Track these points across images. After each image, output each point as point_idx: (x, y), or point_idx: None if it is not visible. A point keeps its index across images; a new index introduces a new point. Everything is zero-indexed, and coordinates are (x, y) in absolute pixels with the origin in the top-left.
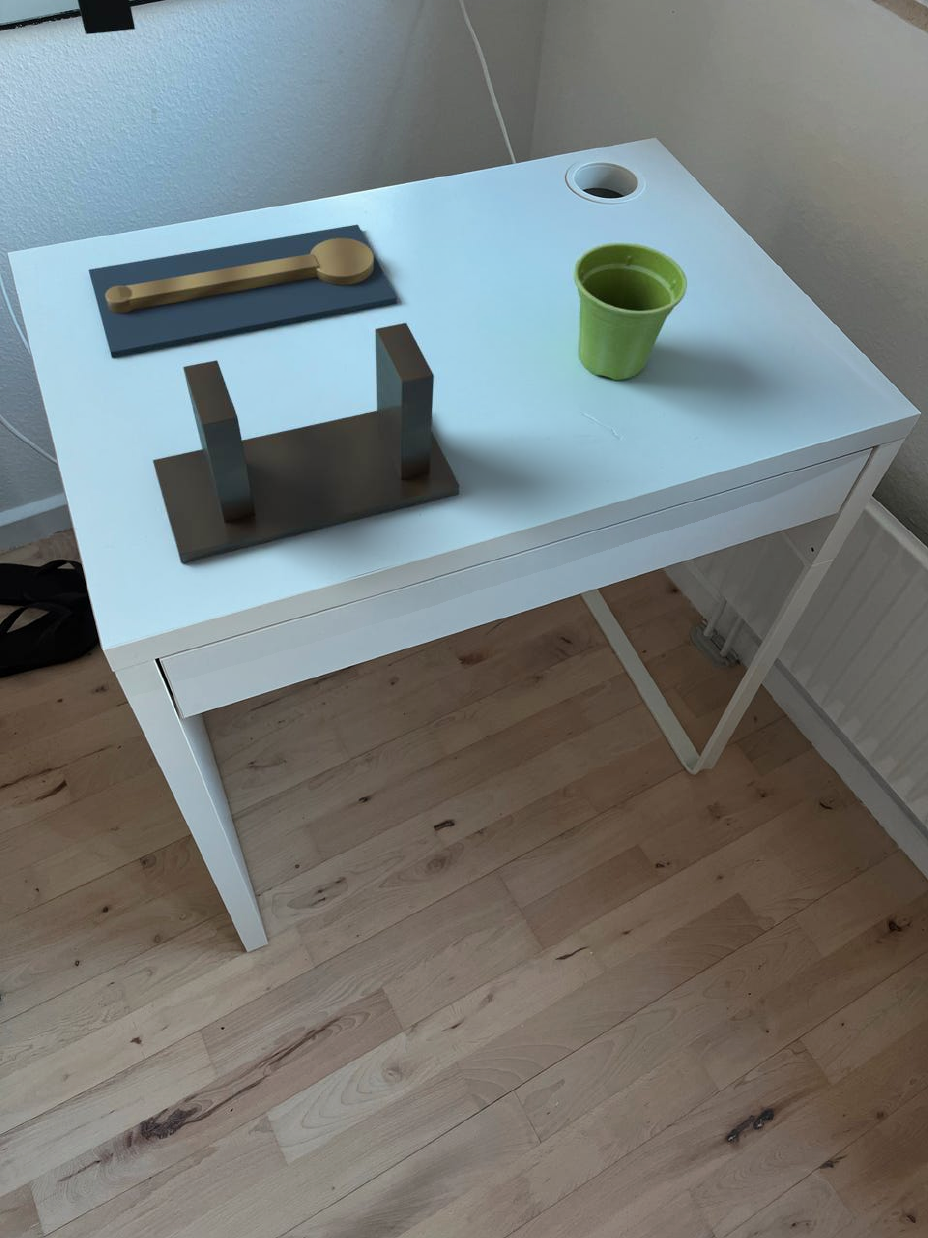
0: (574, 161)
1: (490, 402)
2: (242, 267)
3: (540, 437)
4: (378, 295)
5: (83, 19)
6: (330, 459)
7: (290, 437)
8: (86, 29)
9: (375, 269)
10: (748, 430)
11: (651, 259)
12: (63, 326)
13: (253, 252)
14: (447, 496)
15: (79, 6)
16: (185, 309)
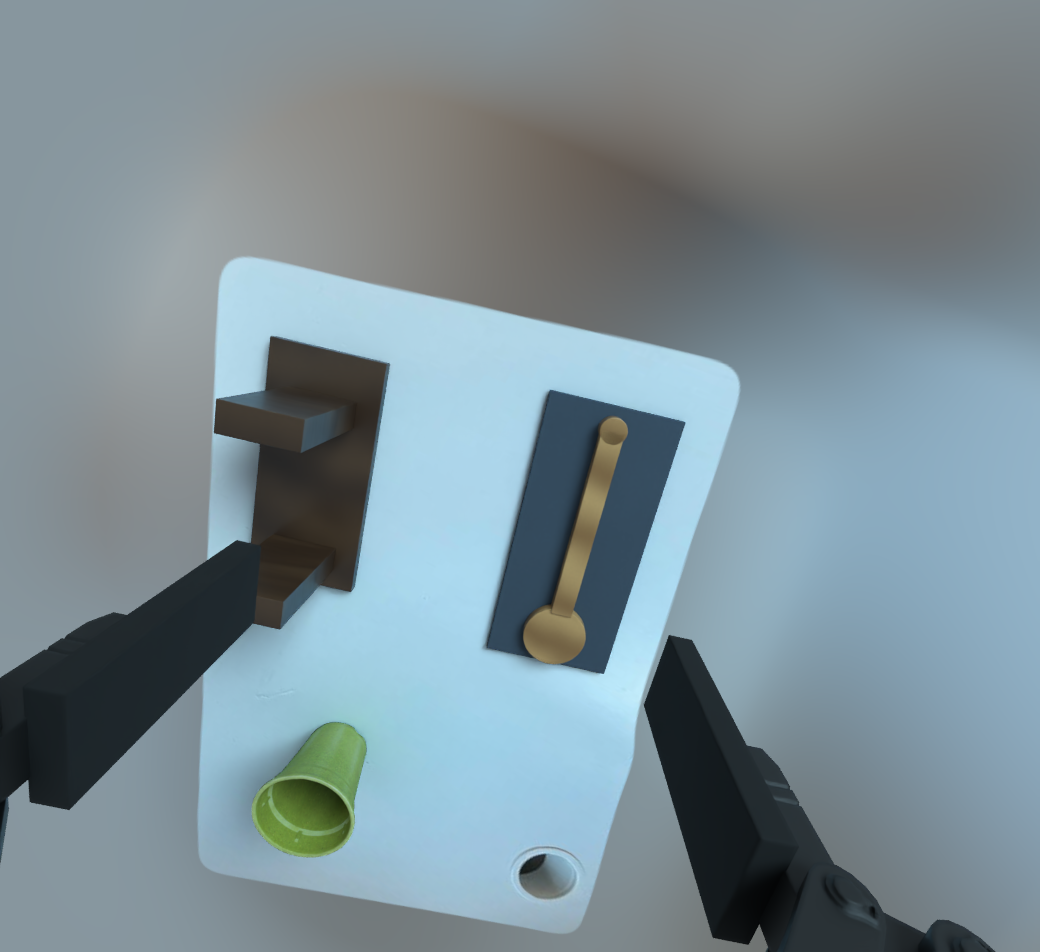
0: (587, 873)
1: (336, 640)
2: (586, 552)
3: (283, 649)
4: (497, 636)
5: (221, 551)
6: (319, 497)
7: (358, 481)
8: (230, 544)
9: None
10: (225, 774)
11: (327, 844)
12: (620, 366)
13: (618, 573)
14: None
15: (215, 560)
16: (572, 479)
